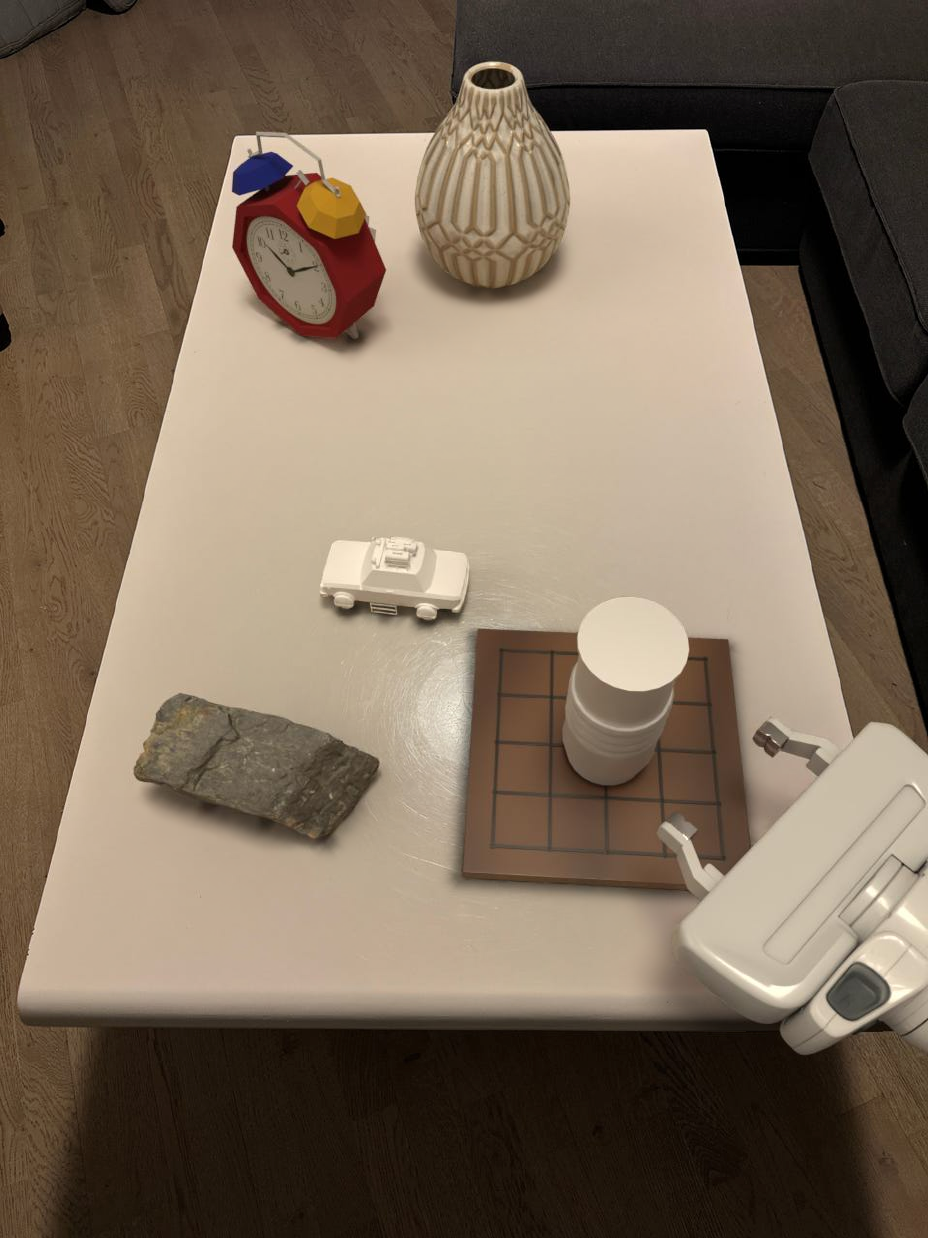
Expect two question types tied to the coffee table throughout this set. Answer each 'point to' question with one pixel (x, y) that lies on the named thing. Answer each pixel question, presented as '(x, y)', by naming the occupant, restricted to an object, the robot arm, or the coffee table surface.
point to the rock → (254, 764)
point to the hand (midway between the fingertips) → (714, 773)
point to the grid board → (588, 812)
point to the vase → (492, 183)
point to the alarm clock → (305, 244)
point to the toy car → (395, 575)
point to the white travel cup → (622, 687)
